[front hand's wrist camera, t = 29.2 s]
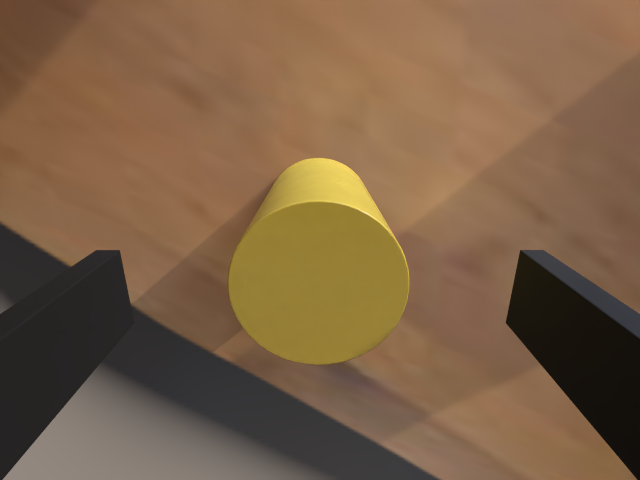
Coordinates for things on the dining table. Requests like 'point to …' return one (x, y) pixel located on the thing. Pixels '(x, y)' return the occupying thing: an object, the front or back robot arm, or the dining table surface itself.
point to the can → (318, 268)
